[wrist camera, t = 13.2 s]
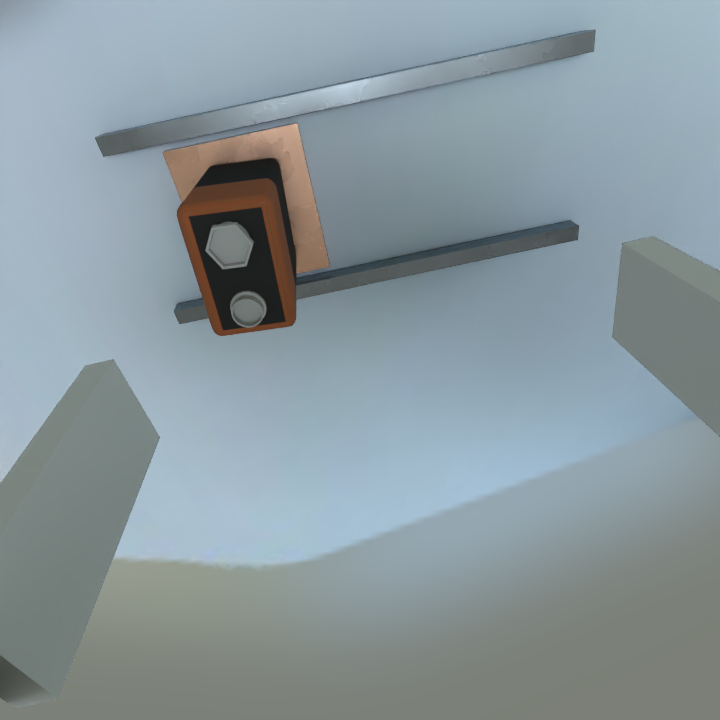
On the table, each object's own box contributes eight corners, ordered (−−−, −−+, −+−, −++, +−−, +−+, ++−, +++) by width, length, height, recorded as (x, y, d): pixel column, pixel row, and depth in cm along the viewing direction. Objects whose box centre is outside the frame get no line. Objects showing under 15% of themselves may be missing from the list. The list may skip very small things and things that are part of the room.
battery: (278, 155, 28) (270, 199, 20) (298, 262, 32) (298, 337, 24) (205, 164, 28) (166, 213, 20) (233, 271, 32) (210, 349, 24)
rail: (569, 234, 33) (577, 239, 32) (182, 316, 34) (179, 324, 33) (584, 30, 27) (595, 29, 26) (102, 134, 27) (94, 137, 26)
